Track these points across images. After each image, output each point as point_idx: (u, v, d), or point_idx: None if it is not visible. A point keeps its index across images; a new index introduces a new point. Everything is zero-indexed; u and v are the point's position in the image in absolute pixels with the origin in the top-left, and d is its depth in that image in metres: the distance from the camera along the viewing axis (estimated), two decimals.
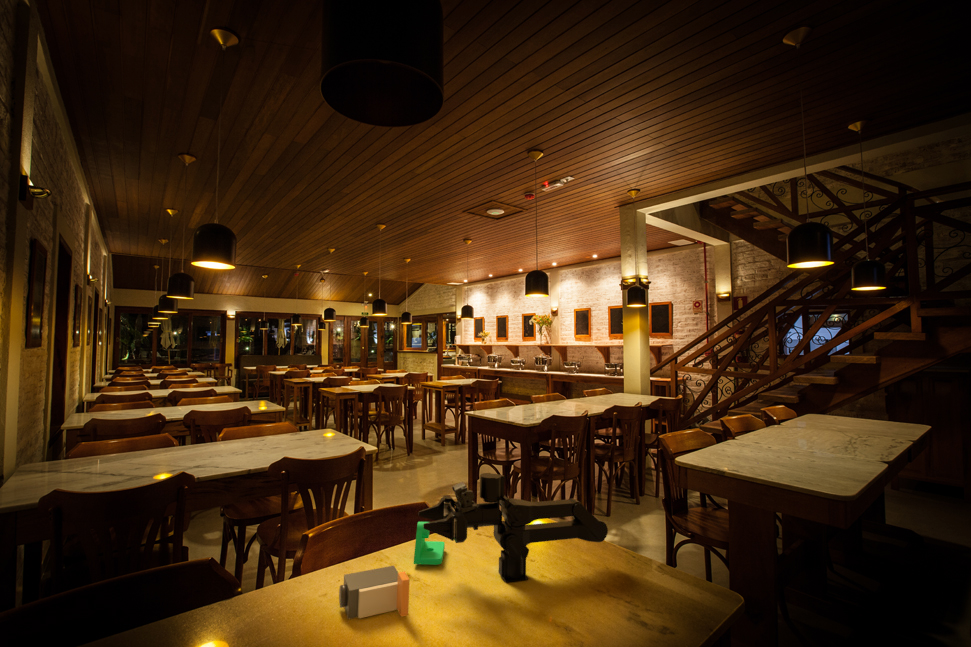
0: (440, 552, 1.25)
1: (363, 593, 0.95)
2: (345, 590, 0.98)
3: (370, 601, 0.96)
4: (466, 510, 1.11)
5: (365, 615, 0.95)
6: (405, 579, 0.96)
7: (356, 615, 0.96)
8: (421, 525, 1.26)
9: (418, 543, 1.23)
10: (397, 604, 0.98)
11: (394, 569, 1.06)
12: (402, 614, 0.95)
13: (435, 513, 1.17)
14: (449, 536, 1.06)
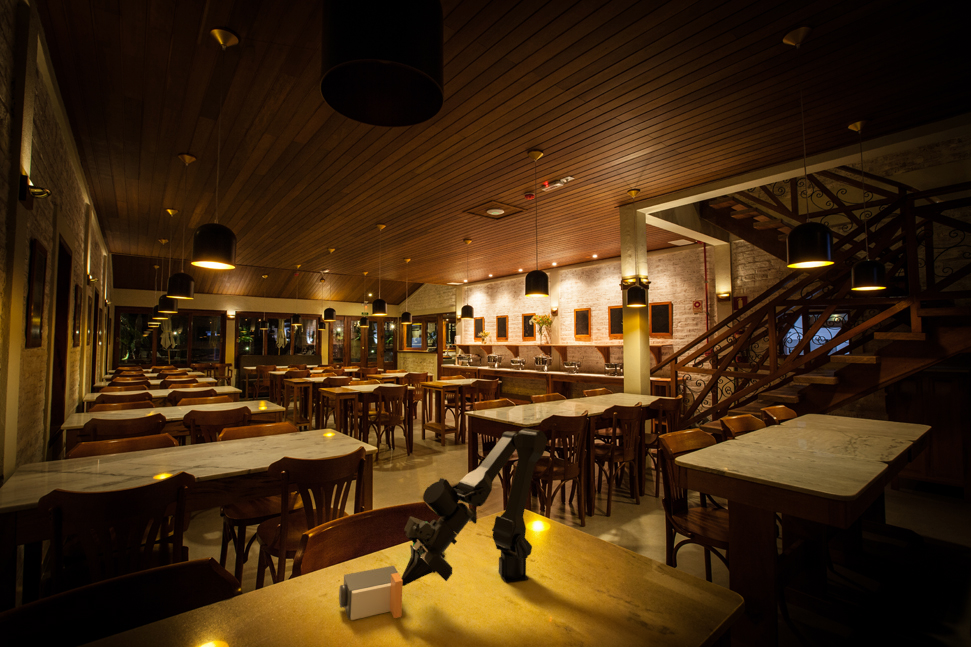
0: None
1: (356, 595, 0.95)
2: (345, 590, 0.98)
3: (363, 602, 0.95)
4: (433, 539, 0.98)
5: (358, 617, 0.95)
6: (398, 580, 0.95)
7: None
8: None
9: None
10: (390, 606, 0.97)
11: (394, 569, 1.06)
12: (395, 616, 0.94)
13: None
14: (430, 570, 0.98)
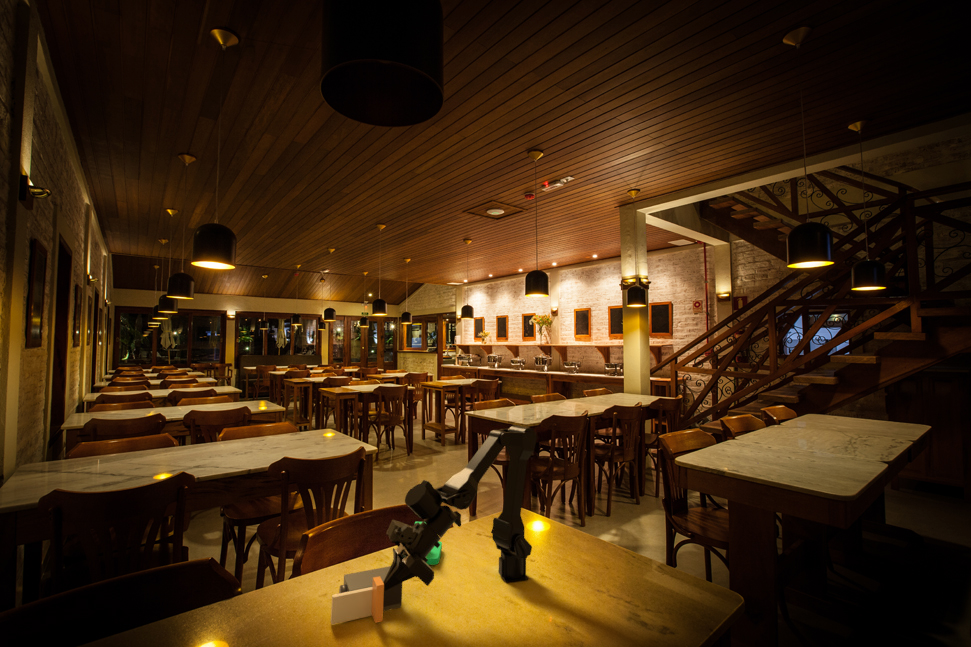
0: (437, 552, 1.25)
1: (336, 599, 0.93)
2: (345, 590, 0.98)
3: (343, 606, 0.93)
4: (415, 543, 0.96)
5: (338, 621, 0.93)
6: (379, 584, 0.94)
7: None
8: None
9: None
10: (372, 610, 0.95)
11: None
12: (376, 620, 0.92)
13: None
14: (412, 575, 0.96)
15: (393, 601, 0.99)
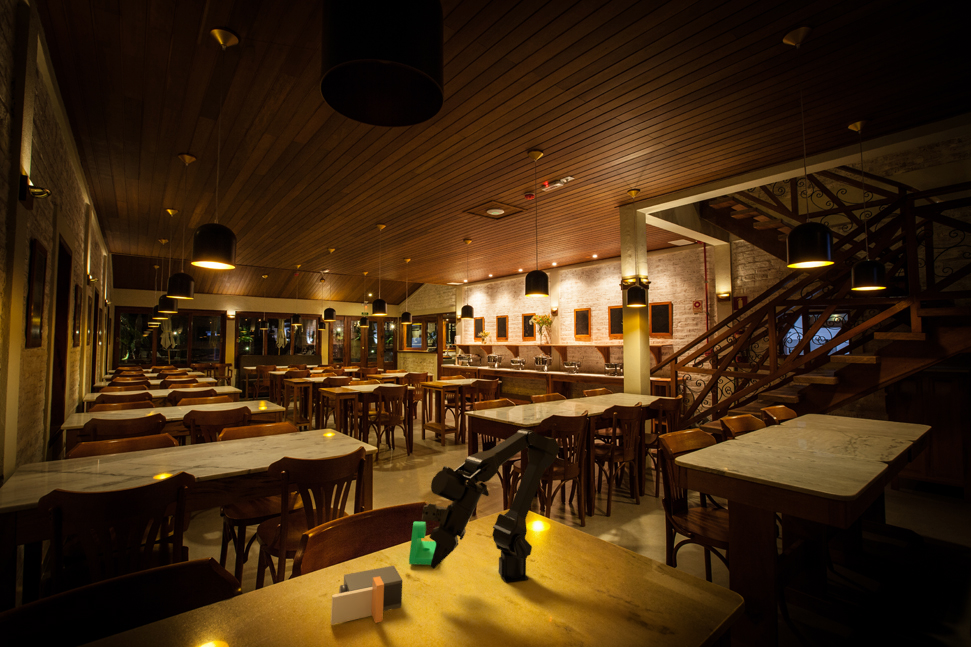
0: None
1: (336, 599, 0.93)
2: (345, 590, 0.98)
3: (343, 606, 0.93)
4: (444, 518, 1.04)
5: (338, 621, 0.93)
6: (379, 584, 0.94)
7: None
8: (417, 525, 1.26)
9: (413, 542, 1.23)
10: (372, 610, 0.95)
11: (394, 569, 1.06)
12: (376, 620, 0.92)
13: None
14: None
15: (393, 601, 0.99)
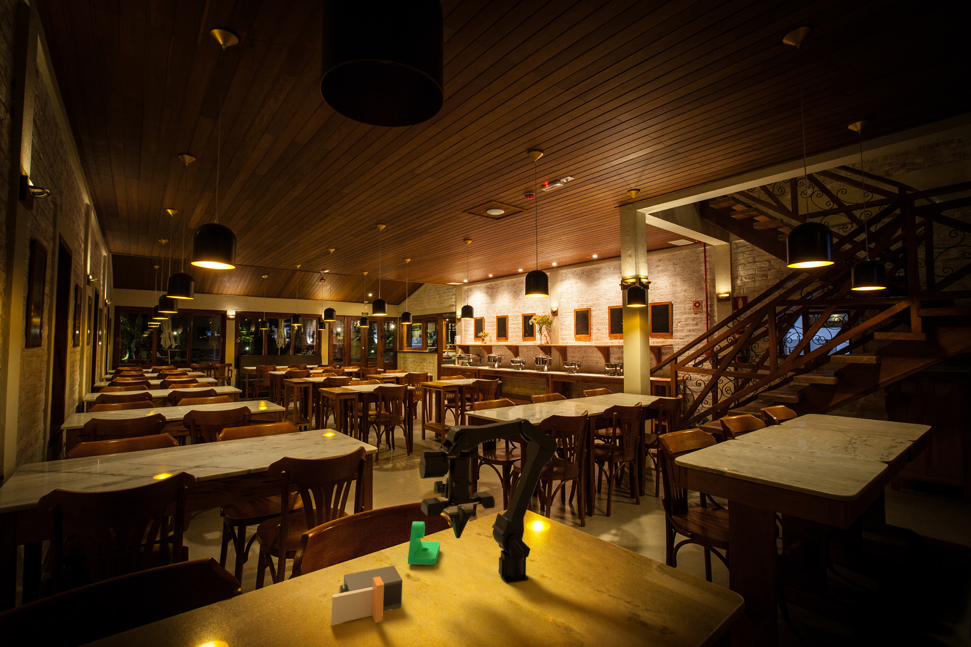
0: (435, 552, 1.25)
1: (336, 599, 0.93)
2: (345, 590, 0.98)
3: (343, 606, 0.93)
4: (445, 491, 1.13)
5: (338, 621, 0.93)
6: (379, 584, 0.94)
7: None
8: (416, 525, 1.26)
9: (412, 542, 1.23)
10: (372, 610, 0.95)
11: (394, 569, 1.06)
12: (376, 620, 0.92)
13: (460, 519, 1.11)
14: (453, 516, 1.09)
15: (393, 601, 0.99)
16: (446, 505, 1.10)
